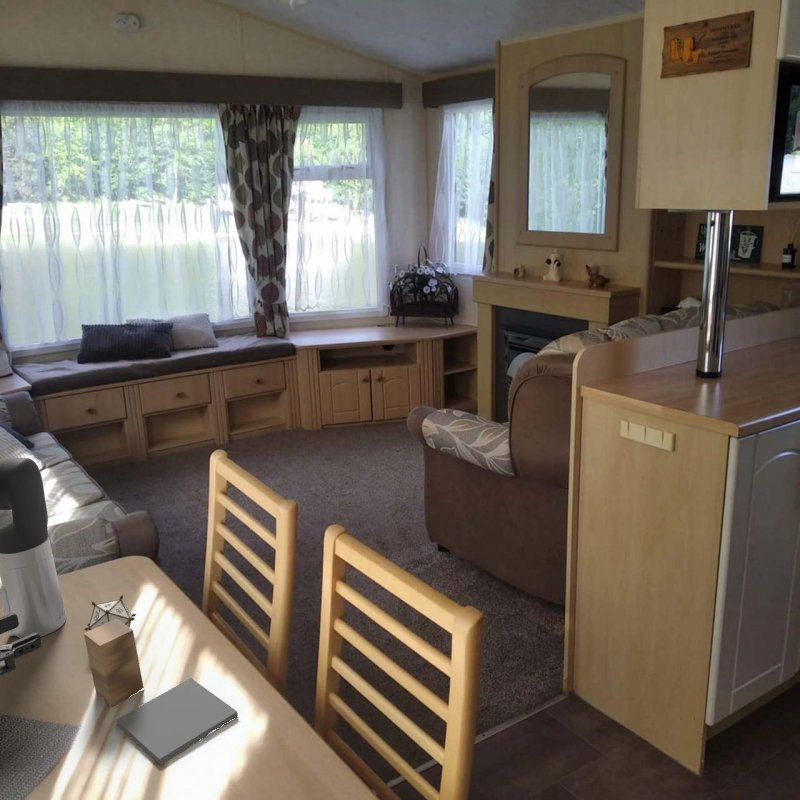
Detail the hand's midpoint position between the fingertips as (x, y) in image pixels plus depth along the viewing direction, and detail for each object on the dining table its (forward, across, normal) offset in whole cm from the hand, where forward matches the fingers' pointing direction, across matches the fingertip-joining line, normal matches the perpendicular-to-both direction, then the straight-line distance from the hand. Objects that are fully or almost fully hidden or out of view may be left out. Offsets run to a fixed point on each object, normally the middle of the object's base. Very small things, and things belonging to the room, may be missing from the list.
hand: (28, 628), depth 116 cm
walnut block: (+11, 0, +17) cm, 21 cm away
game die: (+18, +15, +17) cm, 29 cm away
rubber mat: (+14, -14, +17) cm, 26 cm away
